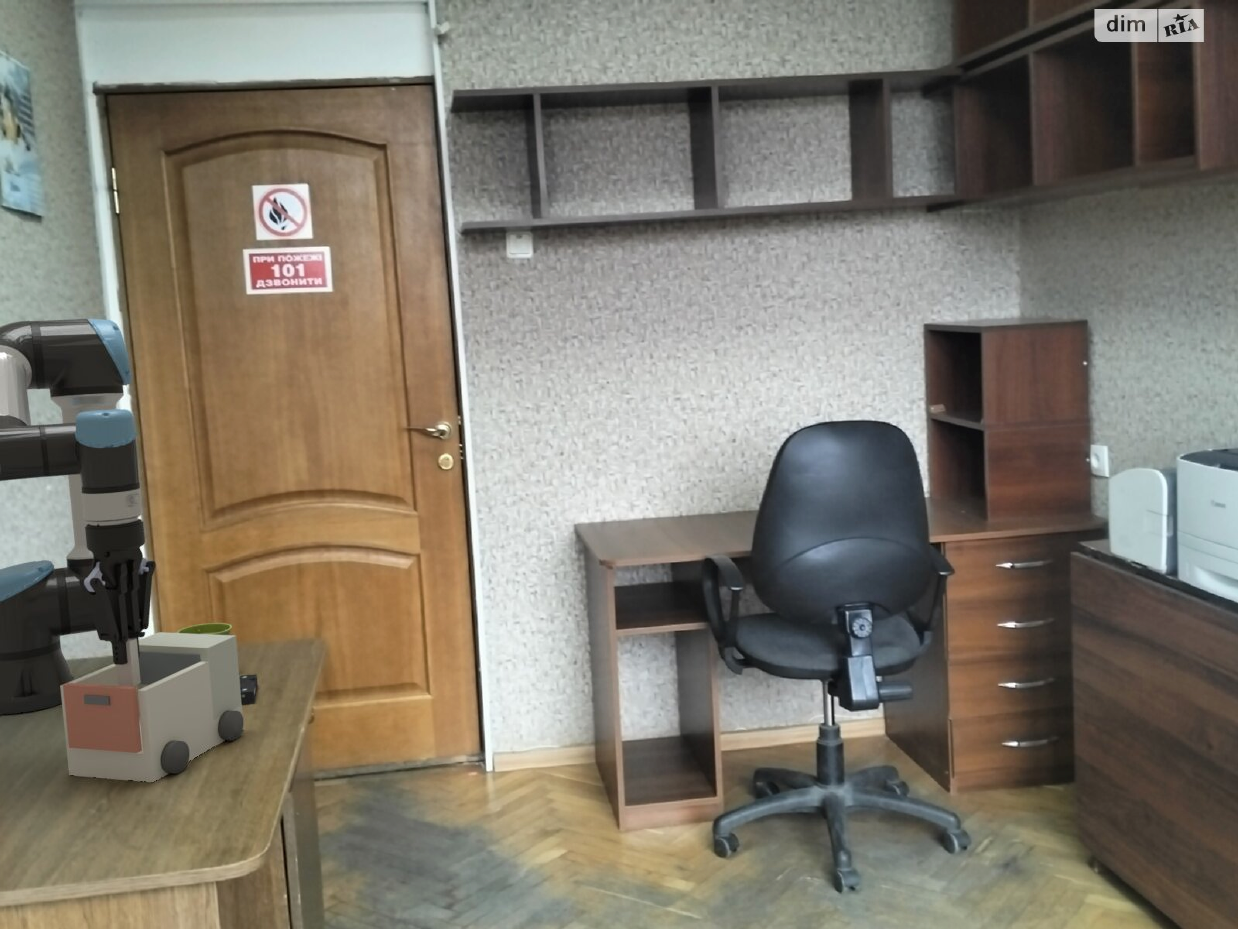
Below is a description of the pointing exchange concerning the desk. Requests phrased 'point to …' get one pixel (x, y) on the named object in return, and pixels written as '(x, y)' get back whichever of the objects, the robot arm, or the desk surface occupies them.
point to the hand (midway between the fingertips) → (129, 684)
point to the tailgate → (102, 717)
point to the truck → (171, 706)
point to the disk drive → (248, 688)
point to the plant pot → (208, 629)
